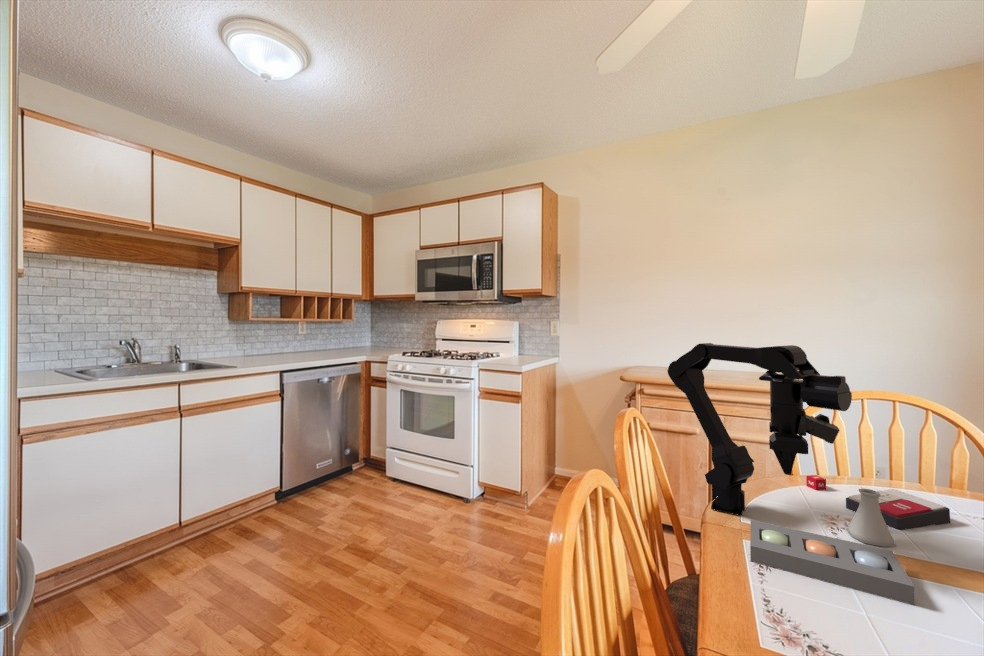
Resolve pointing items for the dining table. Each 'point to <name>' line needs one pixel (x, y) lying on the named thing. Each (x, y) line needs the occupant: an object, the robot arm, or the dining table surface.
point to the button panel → (832, 562)
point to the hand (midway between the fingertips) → (787, 474)
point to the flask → (870, 521)
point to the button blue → (871, 559)
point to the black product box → (905, 510)
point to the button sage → (774, 537)
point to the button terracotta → (820, 548)
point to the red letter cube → (816, 482)
